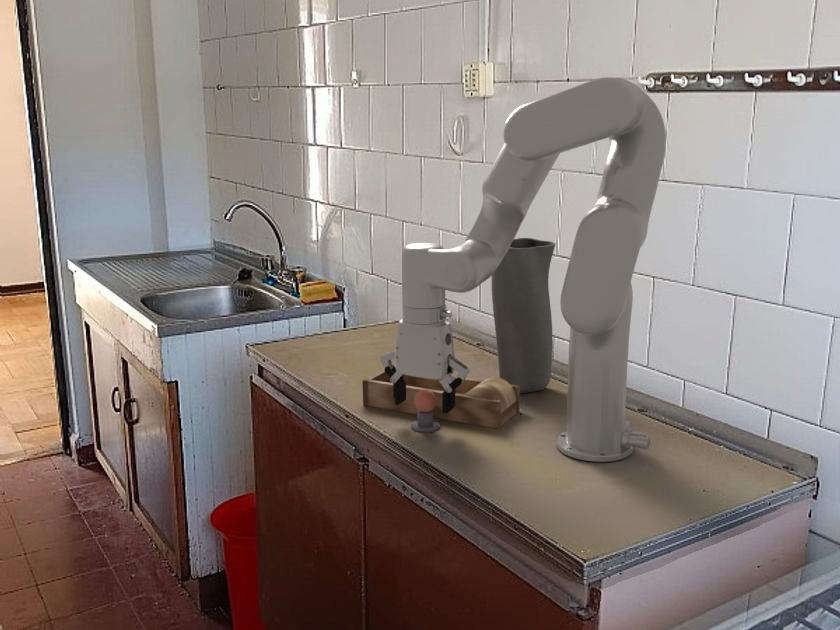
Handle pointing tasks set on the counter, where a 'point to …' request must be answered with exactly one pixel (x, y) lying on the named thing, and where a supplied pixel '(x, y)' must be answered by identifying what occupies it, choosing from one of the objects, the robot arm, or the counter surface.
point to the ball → (425, 400)
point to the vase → (524, 314)
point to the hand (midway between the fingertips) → (423, 406)
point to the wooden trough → (473, 398)
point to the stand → (425, 422)
